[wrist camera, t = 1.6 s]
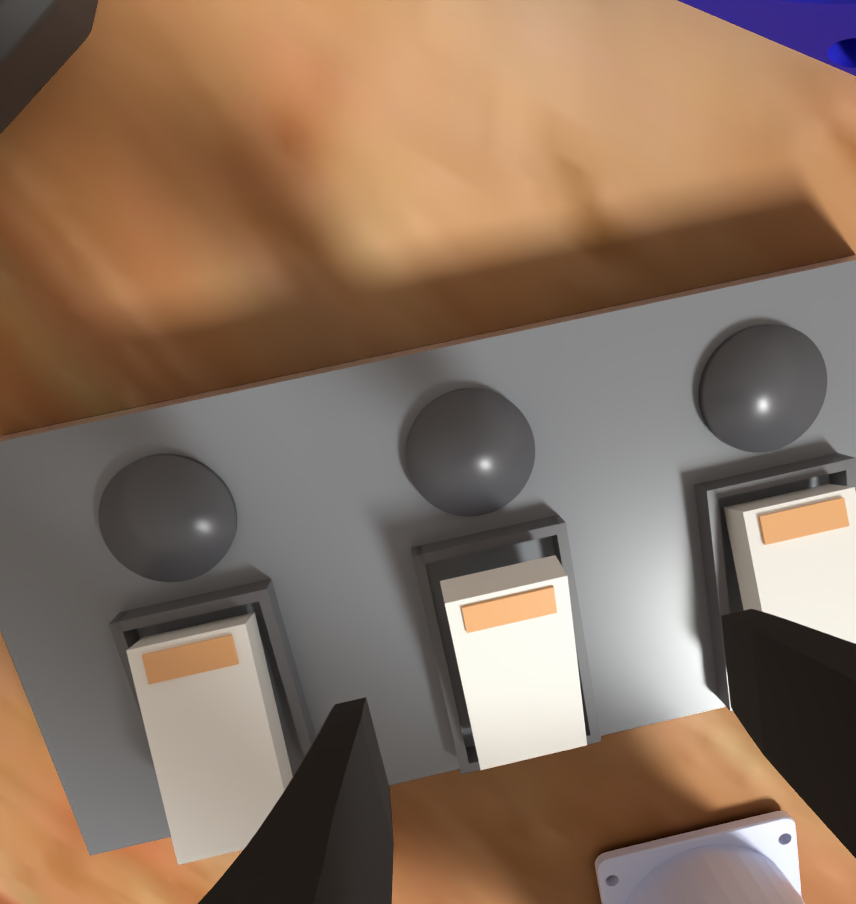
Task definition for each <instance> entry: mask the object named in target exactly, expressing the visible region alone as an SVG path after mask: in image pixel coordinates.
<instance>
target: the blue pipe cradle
mask: <svg viewBox="0 0 856 904" xmlns="http://www.w3.org/2000/svg"><path fill="white" fill-rule="evenodd" d="M678 1H681V2H683V3H685V4H688V5H690V6H692V7H695V8H697V9H699V10H702V11H704V12H706V13H709V14H711V15H714V16H716V17H718V18H721V19H723V20H725V21H728V22H730V23H732V24H735V25H737V26H739V27H742V28H744V29H746V30H749V31H751V32H754V33H756V34H758V35H761V36H763V37H765V38H768V39H770V40H772V41H775V42H777V43H779V44H782V45H784V46H786V47H789V48H791V49H794V50H796V51H798V52H801V53H803V54H805V55H808V56H810V57H812V58H815V59H817V60H819V61H822V62H824V63H826V64H829V65H831V66H834V67H836V68H838V69H841V70H843V71H845V72H848V73H850V74H852V75H855V76H856V0H678Z"/></svg>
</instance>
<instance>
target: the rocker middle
mask: <svg viewBox="0 0 856 904" xmlns="http://www.w3.org/2000/svg"><path fill="white" fill-rule="evenodd" d="M440 585H441V589H442V594H443V599H444V603H445V608H446V613H447V617H448V622H449V626H450V631H451V636H452V640H453V645H454V650H455V654H456V659H457V664H458V668H459V673H460V677H461V682H462V687H463V691H464V696H465V701H466V705H467V710H468V715H469V719H470V724H471V728H472V733H473V738H474V742H475V747H476V751H477V756H478V760H479V765H480V769H481V770H484V769H488V768H493V767H497V766H501V765H505V764H510V763H514V762H518V761H522V760H527V759H531V758H535V757H539V756H544V755H548V754H552V753H556V752H561V751H565V750H569V749H574V748H578V747H582V746H586V745H587V739H586V731H585V722H584V714H583V705H582V696H581V688H580V679H579V671H578V662H577V653H576V645H575V636H574V628H573V619H572V610H571V602H570V593H569V585H568V576H567V574H566V572H565V571H564V569H563V567H562V566H561V564H560V562H559V560H558V559H557V557H556V555H554V556H549V557H545V558H540V559H536V560H531V561H527V562H523V563H518V564H514V565H509V566H505V567H500V568H496V569H491V570H487V571H482V572H478V573H473V574H469V575H465V576H460V577H456V578H451V579H447V580H442V581H440Z"/></svg>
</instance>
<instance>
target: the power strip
mask: <svg viewBox="0 0 856 904" xmlns="http://www.w3.org/2000/svg"><path fill="white" fill-rule="evenodd" d="M826 484H834V485H842V486H850V487H855V491H856V255H853V256H848V257H843V258H839V259H834V260H829V261H824V262H820V263H815V264H810V265H805V266H801V267H796V268H791V269H787V270H782V271H777V272H772V273H768V274H763V275H758V276H754V277H749V278H744V279H739V280H735V281H730V282H725V283H721V284H716V285H711V286H706V287H702V288H697V289H692V290H688V291H683V292H678V293H673V294H669V295H664V296H659V297H654V298H650V299H645V300H640V301H636V302H631V303H626V304H621V305H617V306H612V307H607V308H603V309H598V310H593V311H588V312H584V313H579V314H574V315H570V316H565V317H560V318H555V319H551V320H546V321H541V322H537V323H532V324H527V325H522V326H518V327H513V328H508V329H503V330H499V331H494V332H489V333H485V334H480V335H475V336H470V337H466V338H461V339H456V340H452V341H447V342H442V343H437V344H433V345H428V346H423V347H419V348H414V349H409V350H404V351H400V352H395V353H390V354H386V355H381V356H376V357H371V358H367V359H362V360H357V361H352V362H348V363H343V364H338V365H334V366H329V367H324V368H319V369H315V370H310V371H305V372H301V373H296V374H291V375H286V376H282V377H277V378H272V379H268V380H263V381H258V382H253V383H249V384H244V385H239V386H235V387H230V388H225V389H220V390H216V391H211V392H206V393H201V394H197V395H192V396H187V397H183V398H178V399H173V400H168V401H164V402H159V403H154V404H150V405H145V406H140V407H135V408H131V409H126V410H121V411H117V412H112V413H107V414H102V415H98V416H93V417H88V418H84V419H79V420H74V421H69V422H65V423H60V424H55V425H50V426H46V427H41V428H36V429H32V430H27V431H22V432H17V433H13V434H8V435H3V436H0V630H1V633H2V635H3V638H4V640H5V643H6V645H7V648H8V650H9V653H10V655H11V658H12V660H13V663H14V665H15V668H16V670H17V673H18V675H19V678H20V680H21V683H22V685H23V688H24V690H25V693H26V695H27V698H28V700H29V703H30V706H31V708H32V711H33V713H34V716H35V718H36V721H37V723H38V726H39V728H40V731H41V733H42V736H43V738H44V741H45V743H46V746H47V748H48V751H49V753H50V756H51V758H52V761H53V763H54V766H55V768H56V771H57V773H58V776H59V778H60V781H61V783H62V786H63V788H64V791H65V793H66V796H67V798H68V801H69V804H70V806H71V809H72V811H73V814H74V816H75V819H76V821H77V824H78V826H79V829H80V831H81V834H82V836H83V839H84V841H85V844H86V846H87V849H88V851H89V854H90V856H91V855H95V854H99V853H103V852H108V851H112V850H116V849H120V848H125V847H129V846H133V845H137V844H142V843H146V842H150V841H155V840H159V839H163V838H167V837H171V834H170V829H169V825H168V821H167V817H166V813H165V809H164V805H163V800H162V796H161V792H160V788H159V784H158V780H157V776H156V772H155V767H154V763H153V759H152V755H151V751H150V747H149V743H148V738H147V734H146V730H145V726H144V722H143V718H142V714H141V709H140V705H139V701H138V697H137V693H136V689H135V685H134V681H133V676H132V672H131V668H130V664H129V660H128V656H127V652H126V650H127V649H129V648H130V647H131V646H132V645H134V644H135V643H136V642H138V641H139V640H140V639H141V638H143V637H147V636H151V635H156V634H160V633H165V632H169V631H174V630H178V629H183V628H187V627H192V626H196V625H201V624H205V623H209V622H214V621H218V620H223V619H227V618H232V617H236V616H241V615H245V614H250V613H254V612H255V616H256V620H257V624H258V629H259V633H260V637H261V642H262V646H263V650H264V655H265V659H266V663H267V668H268V672H269V676H270V680H271V685H272V689H273V693H274V698H275V702H276V706H277V711H278V715H279V719H280V724H281V728H282V732H283V737H284V741H285V745H286V750H287V754H288V758H289V763H290V767H291V771H292V776H294V774H295V772H296V771H297V769H298V767H299V766H300V764H301V762H302V761H303V759H304V757H305V756H306V754H307V752H308V750H309V749H310V747H311V745H312V743H313V742H314V740H315V738H316V736H317V734H318V733H319V731H320V729H321V727H322V725H323V723H324V722H325V720H326V718H327V716H328V714H329V713H330V711H331V709H332V708H333V706H334V705H335V704H338V703H343V702H347V701H351V700H356V699H360V698H365V697H366V698H367V702H368V706H369V710H370V714H371V718H372V722H373V726H374V729H375V733H376V737H377V741H378V745H379V749H380V753H381V757H382V760H383V764H384V768H385V772H386V776H387V780H388V784H389V785H394V784H398V783H402V782H406V781H411V780H415V779H419V778H424V777H428V776H432V775H436V774H441V773H445V772H449V771H453V770H458V769H460V771H461V774H465V773H469V772H473V771H477V770H481V769H480V765H479V760H478V756H477V751H476V747H475V742H474V738H473V733H472V728H471V724H470V719H469V715H468V710H467V705H466V701H465V696H464V691H463V687H462V682H461V677H460V673H459V668H458V664H457V659H456V654H455V650H454V645H453V640H452V636H451V631H450V626H449V622H448V617H447V613H446V608H445V603H444V599H443V594H442V589H441V585H440V581H442V580H447V579H451V578H456V577H460V576H465V575H469V574H473V573H478V572H482V571H487V570H491V569H496V568H500V567H505V566H509V565H514V564H518V563H523V562H527V561H531V560H536V559H540V558H545V557H549V556H554V555H556V557H557V559H558V560H559V562H560V564H561V566H562V567H563V569H564V571H565V572H566V574H567V576H568V585H569V593H570V602H571V610H572V619H573V628H574V636H575V645H576V653H577V662H578V671H579V679H580V688H581V696H582V705H583V714H584V722H585V731H586V739H587V745H588V744H593V743H597V742H601V736H603V735H607V734H611V733H616V732H620V731H624V730H629V729H633V728H637V727H641V726H646V725H650V724H654V723H658V722H663V721H667V720H671V719H675V718H680V717H684V716H688V715H693V714H697V713H701V712H705V711H710V710H714V709H718V708H722V707H727V708H728V709H729V710H730V711H733V710H732V708H731V704H730V695H729V685H728V676H727V666H726V657H725V647H724V638H723V629H722V619H721V616H722V615H726V614H731V613H735V612H739V611H744V610H743V605H742V599H741V594H740V589H739V584H738V579H737V574H736V569H735V564H734V558H733V553H732V548H731V543H730V538H729V533H728V528H727V523H726V517H725V512H724V507H728V506H732V505H737V504H741V503H746V502H750V501H755V500H759V499H764V498H768V497H773V496H777V495H782V494H786V493H791V492H795V491H799V490H804V489H808V488H813V487H817V486H822V485H826Z"/></svg>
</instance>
